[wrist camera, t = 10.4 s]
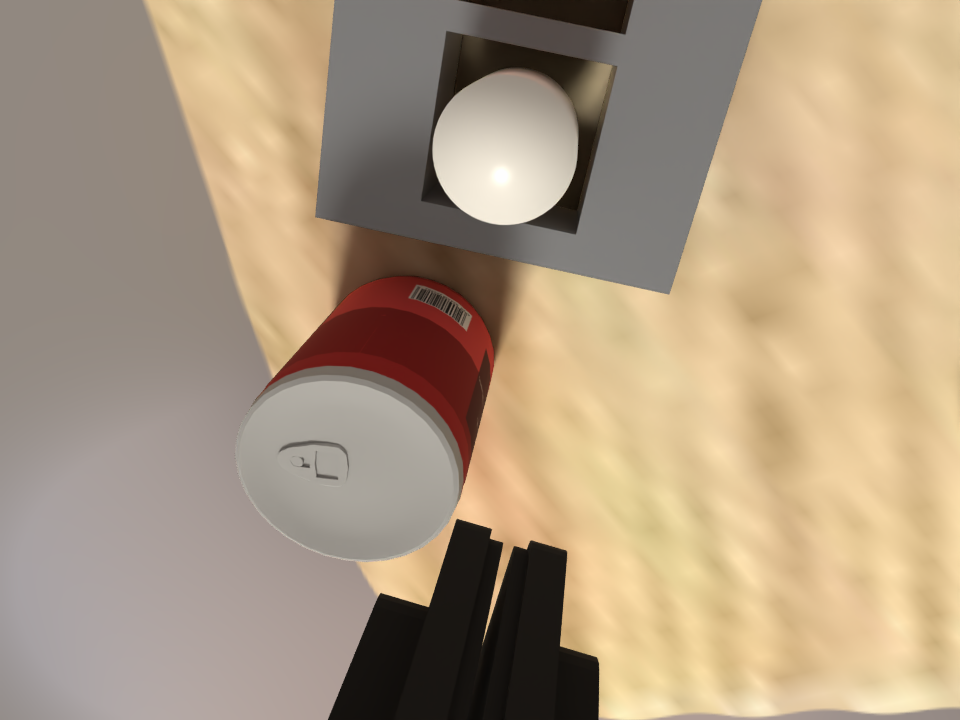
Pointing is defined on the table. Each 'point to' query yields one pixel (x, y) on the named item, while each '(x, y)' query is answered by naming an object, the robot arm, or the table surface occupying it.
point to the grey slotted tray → (616, 149)
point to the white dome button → (507, 146)
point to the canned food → (371, 423)
